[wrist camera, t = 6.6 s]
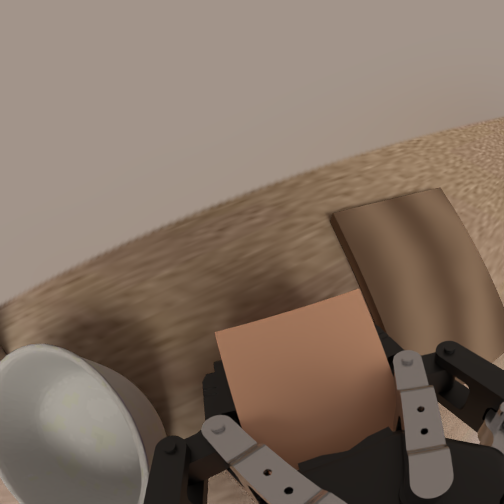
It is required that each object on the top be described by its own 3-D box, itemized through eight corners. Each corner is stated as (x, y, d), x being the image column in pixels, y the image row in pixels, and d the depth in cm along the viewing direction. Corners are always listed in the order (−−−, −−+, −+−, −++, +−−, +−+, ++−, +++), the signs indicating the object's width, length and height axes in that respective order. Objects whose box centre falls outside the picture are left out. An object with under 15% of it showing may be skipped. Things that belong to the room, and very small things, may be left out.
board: (407, 415, 16) (415, 415, 15) (330, 221, 23) (333, 212, 22) (507, 345, 17) (516, 341, 16) (435, 195, 24) (440, 187, 23)
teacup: (97, 337, 19) (29, 301, 12) (218, 427, 16) (190, 448, 9) (26, 457, 14) (-42, 459, 7) (125, 548, 11) (74, 589, 4)
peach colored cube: (259, 444, 16) (258, 480, 8) (233, 359, 18) (214, 332, 11) (348, 414, 16) (407, 422, 9) (320, 333, 19) (359, 288, 12)
